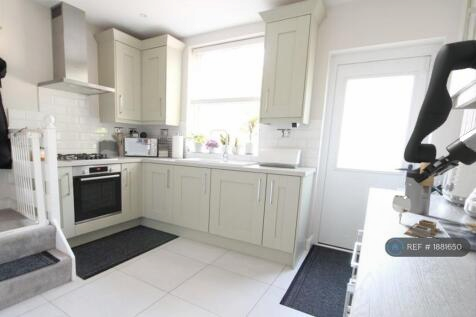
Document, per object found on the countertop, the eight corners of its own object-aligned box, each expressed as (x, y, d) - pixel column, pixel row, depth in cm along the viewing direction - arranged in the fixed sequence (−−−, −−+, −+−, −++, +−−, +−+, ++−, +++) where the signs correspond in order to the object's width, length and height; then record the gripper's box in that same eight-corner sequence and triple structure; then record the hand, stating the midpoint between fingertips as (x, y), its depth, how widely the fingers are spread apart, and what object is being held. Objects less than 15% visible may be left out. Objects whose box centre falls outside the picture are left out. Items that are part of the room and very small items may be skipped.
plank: (415, 226, 86) (416, 216, 86) (439, 232, 81) (440, 222, 80) (402, 238, 74) (403, 226, 74) (429, 246, 69) (431, 233, 69)
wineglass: (402, 230, 81) (405, 199, 81) (387, 225, 87) (389, 195, 86) (412, 228, 84) (415, 198, 83) (396, 223, 89) (399, 194, 88)
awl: (419, 197, 75) (422, 162, 75) (433, 199, 73) (436, 163, 72) (416, 198, 73) (419, 162, 72) (430, 200, 70) (434, 163, 70)
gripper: (469, 137, 69) (419, 171, 80) (453, 135, 62) (400, 172, 73) (493, 155, 65) (436, 188, 76) (478, 155, 57) (418, 191, 69)
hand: (419, 180), depth 74 cm, fingers closed on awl, 3 cm apart
